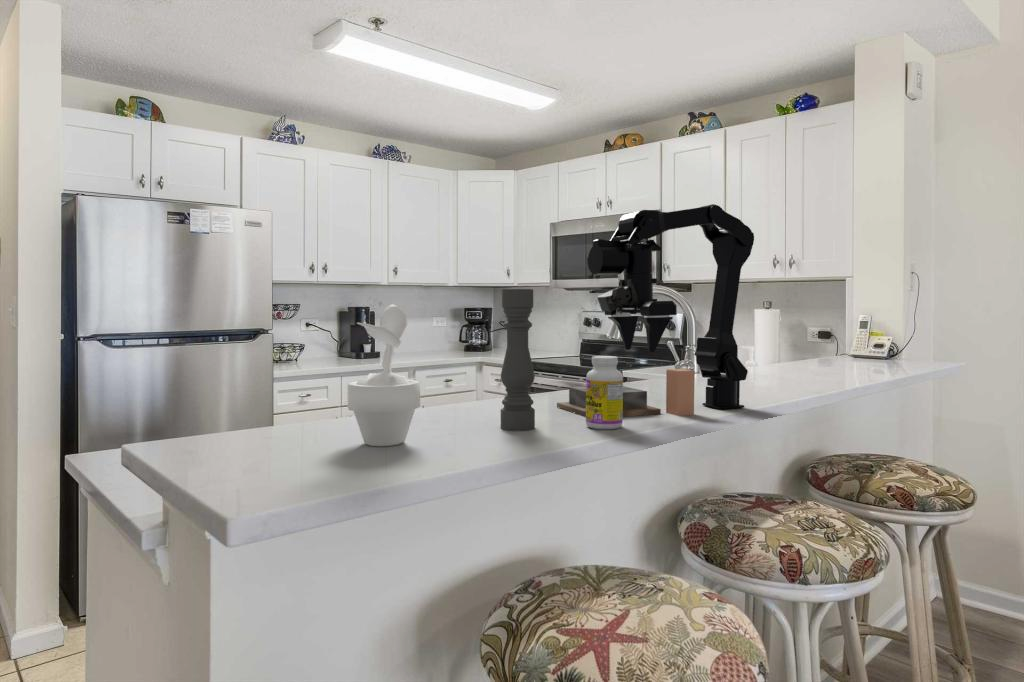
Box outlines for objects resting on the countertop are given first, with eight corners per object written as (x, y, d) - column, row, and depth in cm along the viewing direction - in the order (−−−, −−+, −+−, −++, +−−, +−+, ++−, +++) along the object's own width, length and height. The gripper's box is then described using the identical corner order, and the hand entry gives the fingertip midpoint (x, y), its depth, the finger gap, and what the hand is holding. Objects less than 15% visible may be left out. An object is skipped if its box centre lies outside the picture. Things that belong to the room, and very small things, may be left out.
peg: (682, 411, 138) (682, 368, 137) (694, 414, 134) (694, 370, 133) (666, 412, 136) (666, 369, 136) (677, 415, 132) (677, 371, 132)
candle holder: (540, 429, 117) (540, 289, 116) (508, 431, 115) (507, 288, 114) (526, 423, 123) (526, 290, 122) (495, 425, 121) (495, 289, 120)
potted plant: (379, 433, 113) (377, 288, 112) (434, 440, 108) (433, 287, 107) (326, 447, 102) (323, 286, 101) (385, 455, 97) (383, 285, 96)
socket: (620, 403, 150) (620, 383, 149) (660, 413, 135) (660, 391, 134) (556, 407, 144) (556, 386, 144) (590, 418, 129) (591, 395, 129)
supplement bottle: (579, 425, 121) (579, 356, 121) (609, 422, 124) (609, 355, 124) (598, 431, 115) (599, 358, 115) (630, 428, 118) (630, 357, 118)
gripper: (581, 276, 139) (583, 350, 140) (626, 272, 121) (628, 356, 122) (627, 276, 143) (629, 347, 144) (677, 271, 125) (678, 353, 126)
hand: (639, 350), depth 134 cm, fingers open, 9 cm apart
